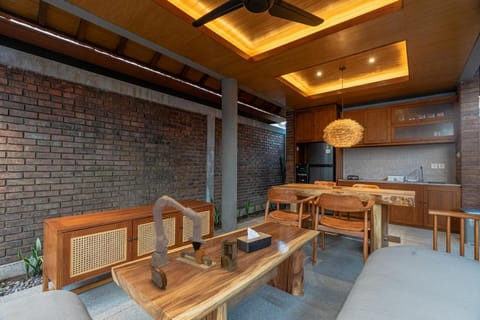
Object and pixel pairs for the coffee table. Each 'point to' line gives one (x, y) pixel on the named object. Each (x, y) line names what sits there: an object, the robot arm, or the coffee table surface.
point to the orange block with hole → (200, 253)
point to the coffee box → (229, 255)
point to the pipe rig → (191, 260)
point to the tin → (159, 277)
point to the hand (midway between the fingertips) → (196, 252)
